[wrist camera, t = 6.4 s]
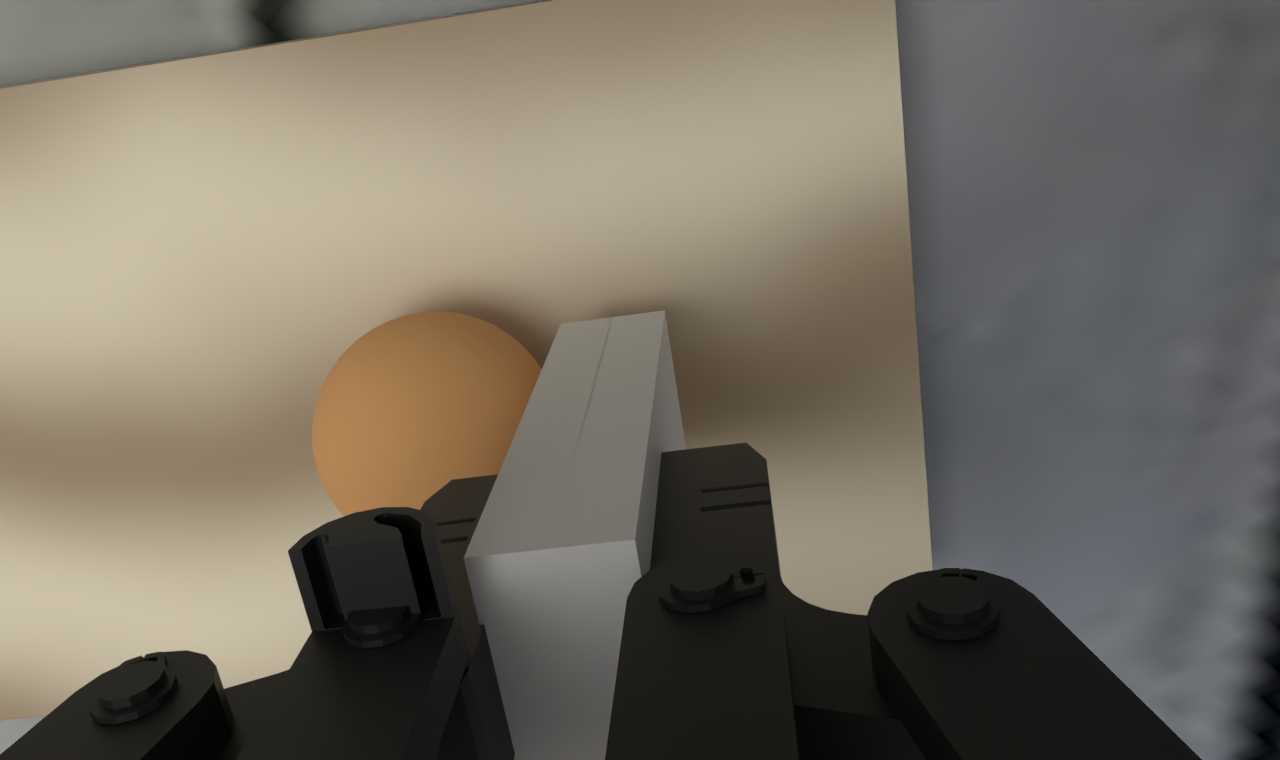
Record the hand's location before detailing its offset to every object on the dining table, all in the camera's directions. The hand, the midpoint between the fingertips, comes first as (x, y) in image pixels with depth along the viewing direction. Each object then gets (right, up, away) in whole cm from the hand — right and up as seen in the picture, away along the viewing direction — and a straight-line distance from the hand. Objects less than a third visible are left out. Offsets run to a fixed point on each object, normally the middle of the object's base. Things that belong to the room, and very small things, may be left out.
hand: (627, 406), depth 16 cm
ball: (-3, 0, 0) cm, 3 cm away
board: (-10, 0, +5) cm, 11 cm away
